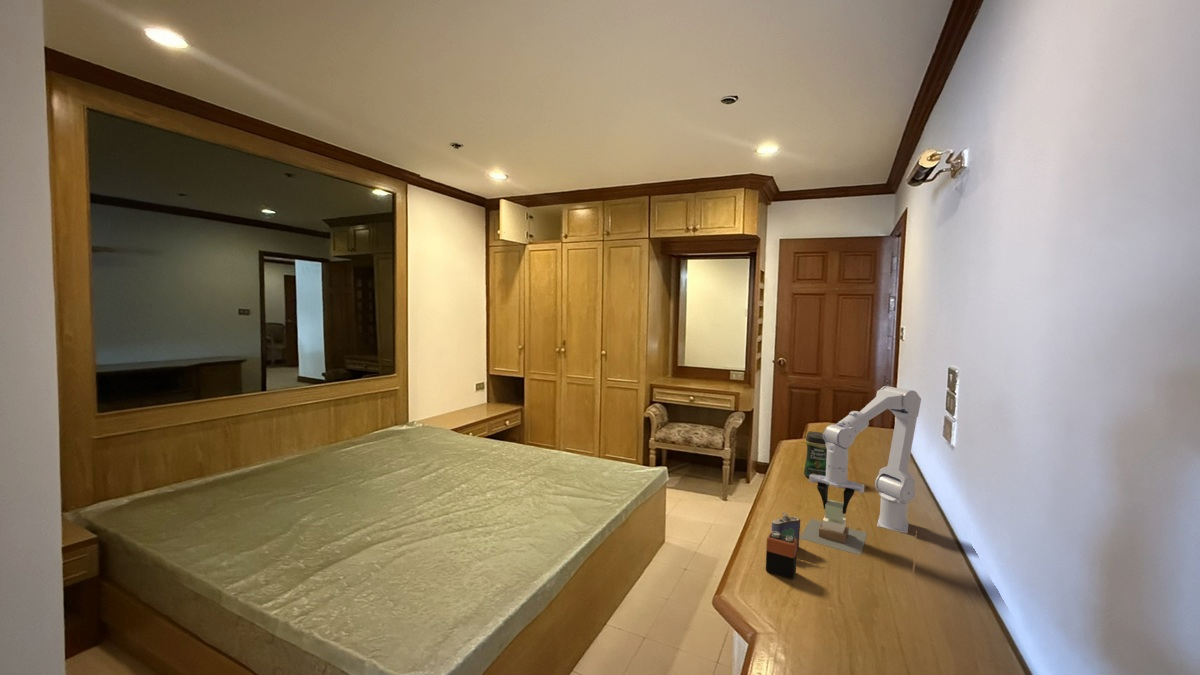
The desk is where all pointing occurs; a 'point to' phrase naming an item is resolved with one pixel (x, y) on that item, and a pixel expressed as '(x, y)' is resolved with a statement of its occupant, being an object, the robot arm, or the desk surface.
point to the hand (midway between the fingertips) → (834, 510)
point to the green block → (834, 510)
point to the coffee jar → (815, 454)
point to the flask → (787, 526)
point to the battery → (781, 555)
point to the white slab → (834, 525)
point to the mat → (851, 545)
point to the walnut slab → (834, 534)
